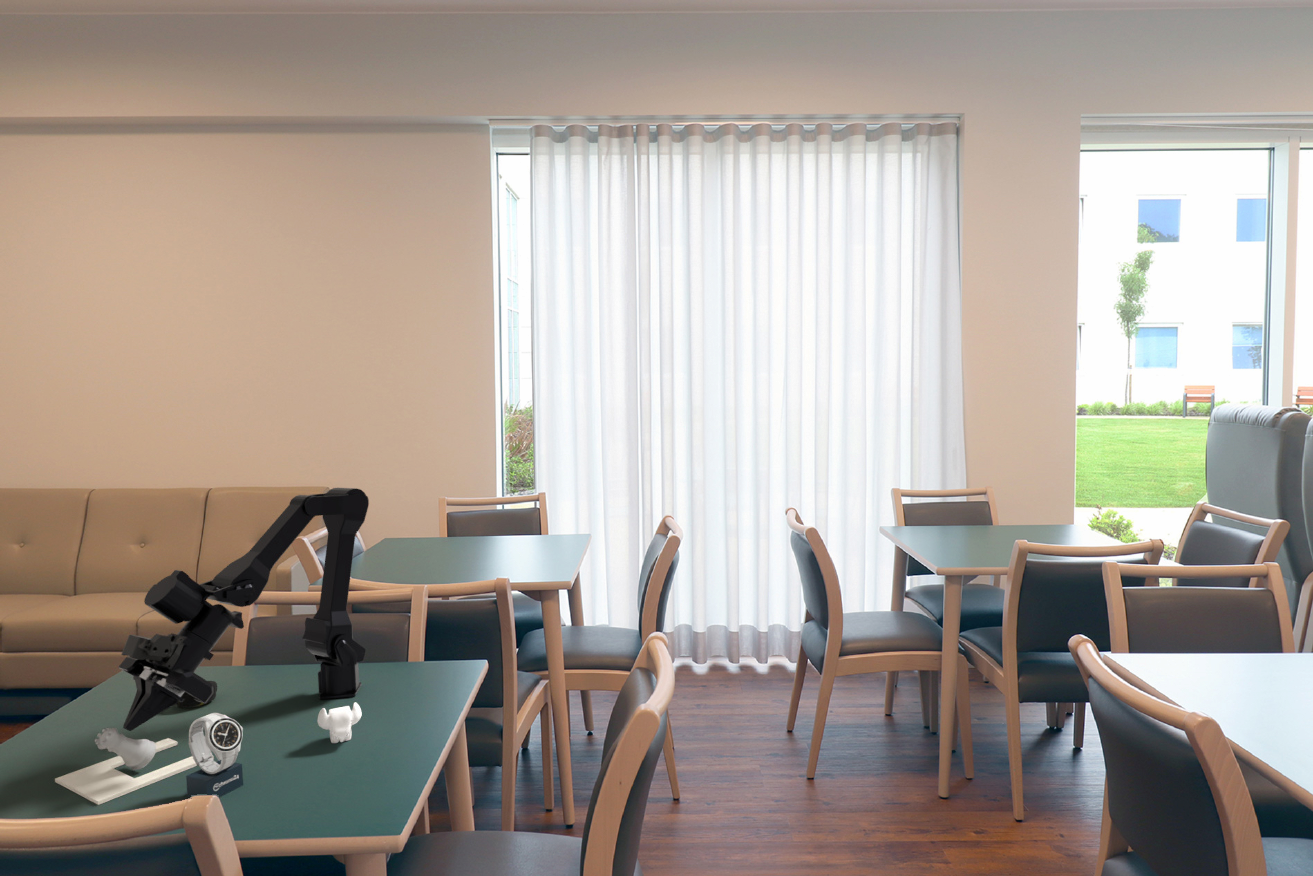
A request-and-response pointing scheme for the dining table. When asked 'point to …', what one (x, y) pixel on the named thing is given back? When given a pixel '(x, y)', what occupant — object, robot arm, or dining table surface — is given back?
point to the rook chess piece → (127, 748)
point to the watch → (225, 745)
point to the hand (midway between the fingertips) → (126, 729)
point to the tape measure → (191, 702)
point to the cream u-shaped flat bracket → (118, 777)
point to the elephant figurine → (339, 721)
